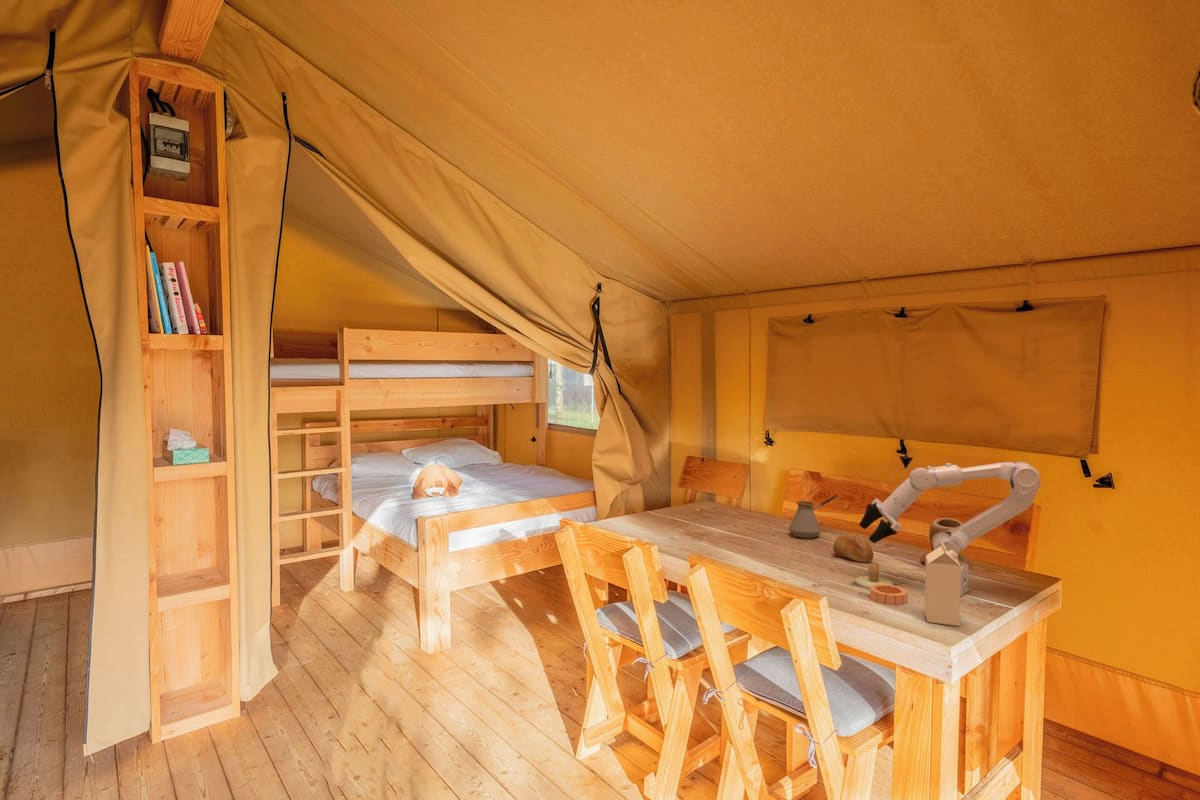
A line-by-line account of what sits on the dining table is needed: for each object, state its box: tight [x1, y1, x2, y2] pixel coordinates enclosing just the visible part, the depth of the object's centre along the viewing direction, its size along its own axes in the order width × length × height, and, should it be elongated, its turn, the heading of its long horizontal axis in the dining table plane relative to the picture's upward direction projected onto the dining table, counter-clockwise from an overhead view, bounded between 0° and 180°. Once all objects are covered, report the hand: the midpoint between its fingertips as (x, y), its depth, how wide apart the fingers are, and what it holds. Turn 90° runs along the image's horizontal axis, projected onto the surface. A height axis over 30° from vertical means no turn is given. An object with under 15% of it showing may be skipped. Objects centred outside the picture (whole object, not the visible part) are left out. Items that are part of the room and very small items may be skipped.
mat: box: [849, 580, 899, 590], centre depth 191 cm, size 10×10×1 cm
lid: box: [854, 562, 894, 590], centre depth 191 cm, size 10×10×6 cm
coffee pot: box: [788, 494, 841, 540], centre depth 249 cm, size 21×12×15 cm, turn 110°
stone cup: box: [919, 517, 970, 564], centre depth 211 cm, size 15×12×15 cm
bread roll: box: [832, 534, 874, 564], centre depth 218 cm, size 10×15×8 cm, turn 23°
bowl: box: [869, 584, 908, 606], centre depth 179 cm, size 9×9×3 cm
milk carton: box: [923, 542, 961, 627], centre depth 165 cm, size 7×7×19 cm
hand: (866, 534), depth 196 cm, fingers open, 7 cm apart
